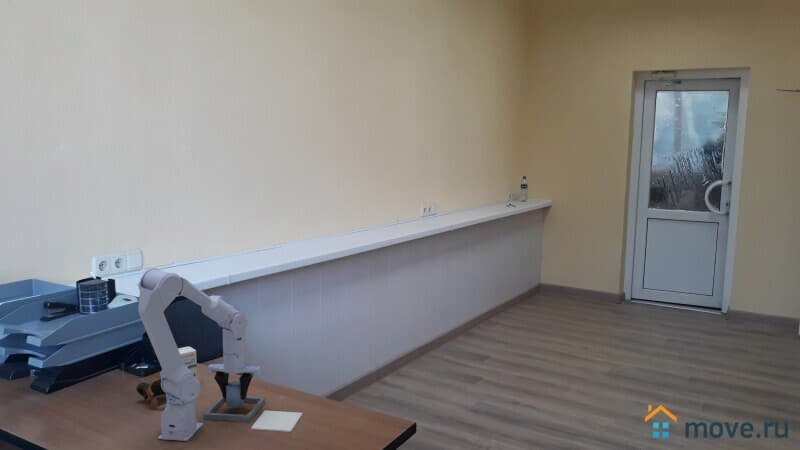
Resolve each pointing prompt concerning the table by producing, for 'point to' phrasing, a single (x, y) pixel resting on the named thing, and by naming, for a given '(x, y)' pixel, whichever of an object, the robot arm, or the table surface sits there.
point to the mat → (277, 421)
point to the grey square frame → (232, 417)
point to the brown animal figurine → (152, 392)
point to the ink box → (189, 359)
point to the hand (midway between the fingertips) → (234, 397)
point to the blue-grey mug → (233, 395)
